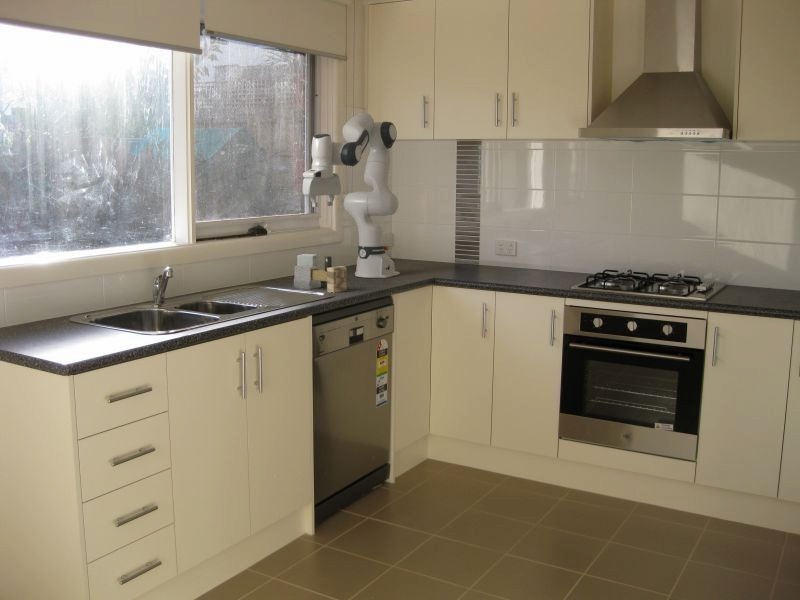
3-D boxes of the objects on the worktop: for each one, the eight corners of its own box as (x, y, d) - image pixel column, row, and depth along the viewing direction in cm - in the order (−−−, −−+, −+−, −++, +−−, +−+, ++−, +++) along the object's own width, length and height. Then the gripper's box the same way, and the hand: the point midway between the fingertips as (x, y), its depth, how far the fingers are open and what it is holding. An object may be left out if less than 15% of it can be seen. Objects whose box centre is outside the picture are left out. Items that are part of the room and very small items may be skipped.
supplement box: (313, 284, 376) (313, 255, 374) (296, 284, 378) (296, 255, 376) (318, 282, 383) (318, 254, 381) (302, 281, 385) (301, 253, 383)
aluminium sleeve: (305, 285, 374) (305, 264, 372) (320, 287, 368) (320, 266, 367) (294, 287, 368) (293, 266, 367) (309, 289, 363) (309, 267, 362)
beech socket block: (340, 289, 362) (340, 265, 361) (346, 290, 360) (346, 266, 359) (327, 291, 356) (327, 267, 355) (333, 292, 354) (333, 268, 353)
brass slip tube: (314, 278, 368) (313, 254, 367) (341, 281, 359) (341, 257, 357) (307, 278, 365) (307, 255, 363) (335, 282, 356) (334, 258, 354)
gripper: (333, 172, 375) (333, 205, 377) (299, 173, 359) (300, 207, 361) (344, 173, 371) (344, 205, 373) (311, 173, 355) (311, 207, 357)
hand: (322, 206), depth 367 cm, fingers open, 8 cm apart
